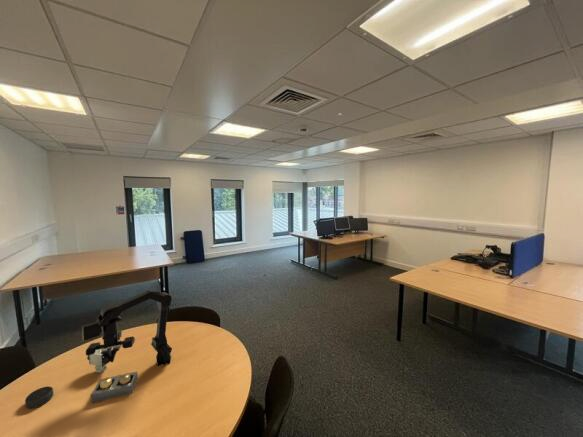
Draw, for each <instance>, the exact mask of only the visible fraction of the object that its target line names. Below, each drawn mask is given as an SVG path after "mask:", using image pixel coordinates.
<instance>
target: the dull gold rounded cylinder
mask: <svg viewBox="0 0 583 437" xmlns="http://www.w3.org/2000/svg"><path fill="white" fill-rule="evenodd" d="M130 373H131V372H129V373H128V372H126V373H123V374H121V375H122V376H121V377H120V385H124V384H129V383H131V375H130Z"/></svg>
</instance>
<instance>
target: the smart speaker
mask: <svg viewBox="0 0 583 437" xmlns="http://www.w3.org/2000/svg"><path fill="white" fill-rule="evenodd" d="M53 396H54V388H53V387H52V386H43V387H40V388H37V389H35V390H34V391H32V392H31V393H29V394H28V395H27V396H26V398H25V400H24V404H25V407H26V408H28V409H34V408H37V407H40V406H42V405H44V404H46V403H47V402H49V401H50V400H51V399H52V398H53Z"/></svg>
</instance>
